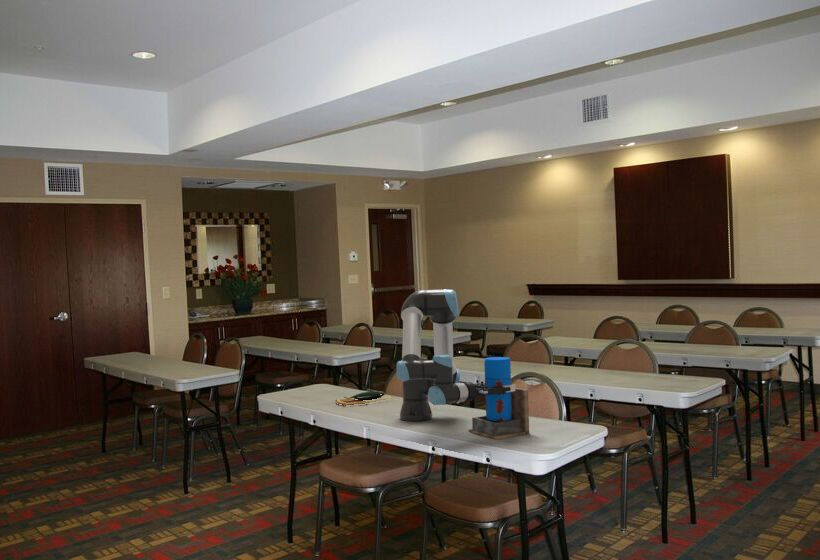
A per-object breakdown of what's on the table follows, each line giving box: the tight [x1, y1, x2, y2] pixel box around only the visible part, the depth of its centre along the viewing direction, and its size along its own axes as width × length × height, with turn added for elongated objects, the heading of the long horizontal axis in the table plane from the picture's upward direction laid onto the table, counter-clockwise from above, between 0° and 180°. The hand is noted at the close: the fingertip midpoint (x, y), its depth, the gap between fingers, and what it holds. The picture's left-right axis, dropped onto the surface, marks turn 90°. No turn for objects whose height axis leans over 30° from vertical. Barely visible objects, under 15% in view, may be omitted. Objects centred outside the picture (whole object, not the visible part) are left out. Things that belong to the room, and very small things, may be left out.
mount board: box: [467, 387, 530, 440], centre depth 294 cm, size 19×17×18 cm
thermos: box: [483, 356, 512, 421], centre depth 294 cm, size 11×11×25 cm
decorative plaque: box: [334, 388, 393, 407], centre depth 377 cm, size 30×7×20 cm
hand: (505, 386), depth 296 cm, fingers closed on thermos, 11 cm apart
